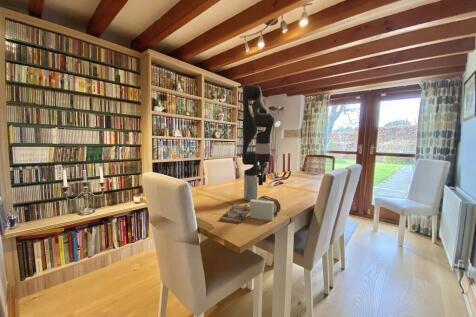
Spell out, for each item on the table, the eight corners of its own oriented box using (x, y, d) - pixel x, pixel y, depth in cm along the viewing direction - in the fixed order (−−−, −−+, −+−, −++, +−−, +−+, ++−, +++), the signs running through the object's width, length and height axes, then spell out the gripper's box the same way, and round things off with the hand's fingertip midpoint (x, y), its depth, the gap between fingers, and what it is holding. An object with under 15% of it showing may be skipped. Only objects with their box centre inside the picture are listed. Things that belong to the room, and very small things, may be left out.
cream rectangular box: (251, 215, 111) (251, 199, 111) (273, 218, 108) (273, 201, 107) (249, 217, 108) (250, 201, 107) (272, 220, 104) (272, 203, 103)
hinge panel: (233, 207, 124) (233, 200, 124) (251, 209, 121) (251, 202, 120) (219, 220, 104) (219, 212, 103) (240, 223, 100) (240, 215, 100)
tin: (280, 214, 113) (281, 199, 112) (277, 216, 111) (277, 200, 110) (260, 207, 124) (260, 194, 123) (257, 208, 122) (257, 195, 121)
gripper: (258, 151, 112) (258, 180, 114) (252, 153, 99) (251, 185, 100) (272, 152, 110) (271, 181, 112) (267, 153, 97) (266, 187, 98)
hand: (262, 183), depth 106 cm, fingers open, 8 cm apart
